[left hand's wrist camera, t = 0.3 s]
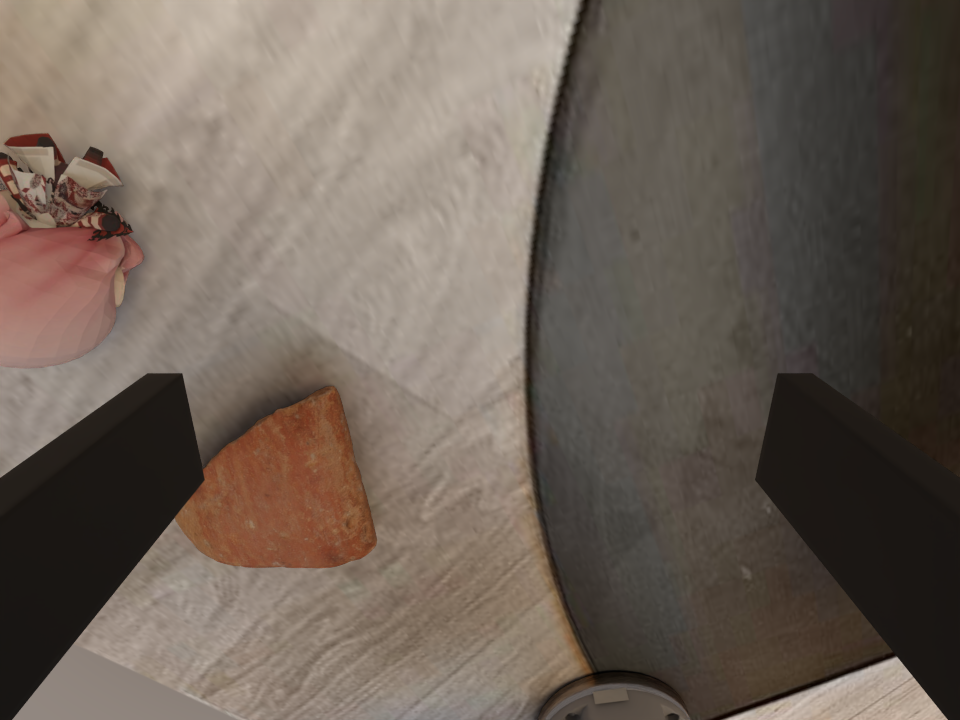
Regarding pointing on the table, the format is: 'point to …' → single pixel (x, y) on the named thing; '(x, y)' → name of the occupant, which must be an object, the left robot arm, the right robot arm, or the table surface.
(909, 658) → the left robot arm
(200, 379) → the table surface
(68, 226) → the toy
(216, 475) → the ceramic shard
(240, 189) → the table surface
